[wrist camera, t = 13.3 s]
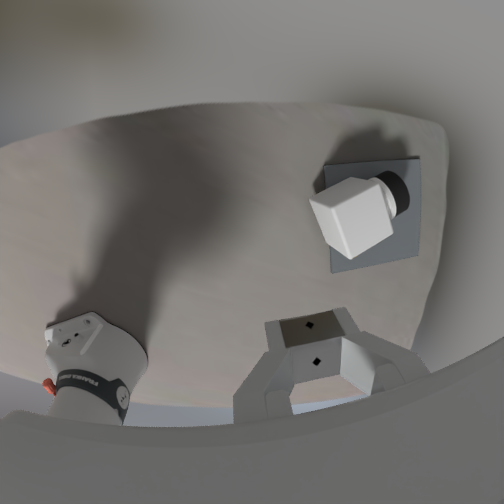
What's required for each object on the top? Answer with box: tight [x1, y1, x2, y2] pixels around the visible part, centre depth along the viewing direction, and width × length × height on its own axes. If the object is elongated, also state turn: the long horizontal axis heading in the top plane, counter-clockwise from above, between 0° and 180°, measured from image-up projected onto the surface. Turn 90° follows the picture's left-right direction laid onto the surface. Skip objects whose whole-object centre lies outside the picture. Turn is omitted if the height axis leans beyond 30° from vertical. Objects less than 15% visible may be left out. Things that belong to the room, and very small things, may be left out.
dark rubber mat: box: [323, 159, 421, 273], centre depth 39 cm, size 16×16×1 cm
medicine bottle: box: [309, 170, 410, 259], centre depth 35 cm, size 7×7×12 cm
